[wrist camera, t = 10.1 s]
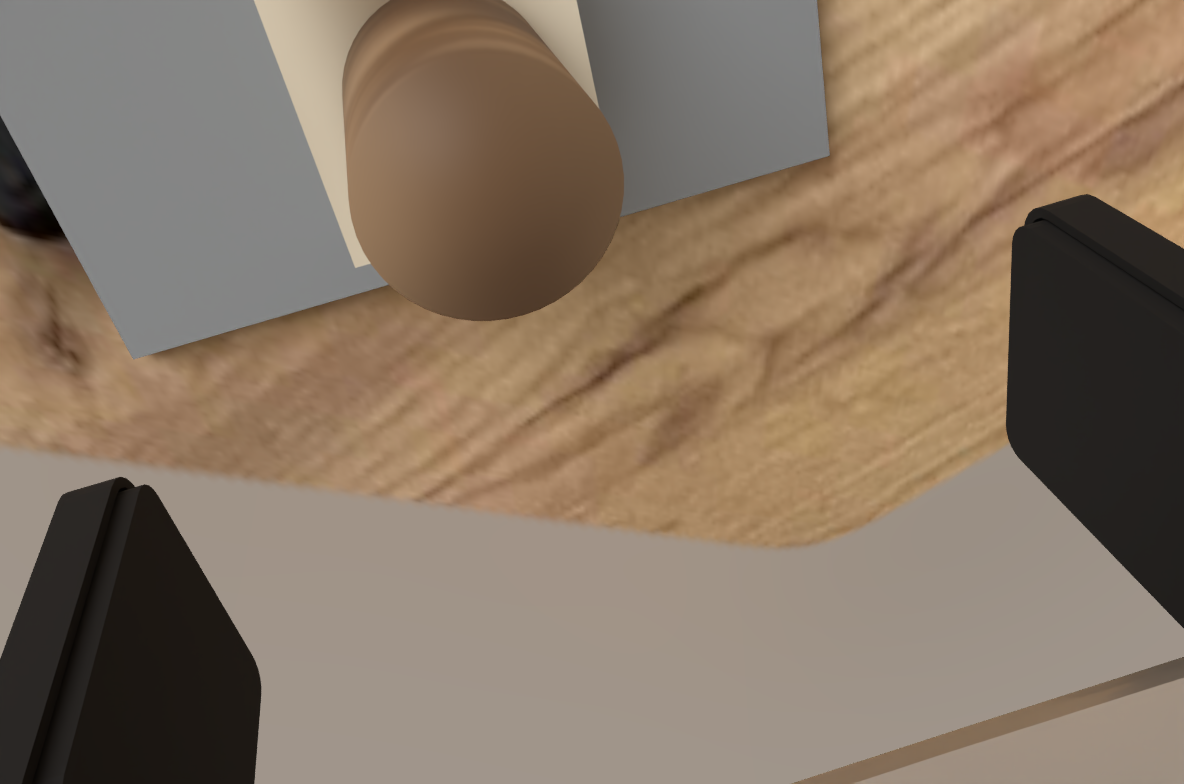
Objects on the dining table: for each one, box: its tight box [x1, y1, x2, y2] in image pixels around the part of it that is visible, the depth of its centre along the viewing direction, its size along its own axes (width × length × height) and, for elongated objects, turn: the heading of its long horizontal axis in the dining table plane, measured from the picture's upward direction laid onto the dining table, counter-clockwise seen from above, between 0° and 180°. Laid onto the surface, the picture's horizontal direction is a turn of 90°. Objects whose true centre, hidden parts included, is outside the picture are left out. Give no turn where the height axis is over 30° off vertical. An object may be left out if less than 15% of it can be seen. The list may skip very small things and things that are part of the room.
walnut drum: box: [342, 0, 624, 321], centre depth 21 cm, size 5×5×7 cm
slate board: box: [0, 0, 830, 359], centre depth 28 cm, size 22×12×1 cm, turn 103°
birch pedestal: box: [254, 0, 599, 268], centre depth 26 cm, size 7×7×4 cm
